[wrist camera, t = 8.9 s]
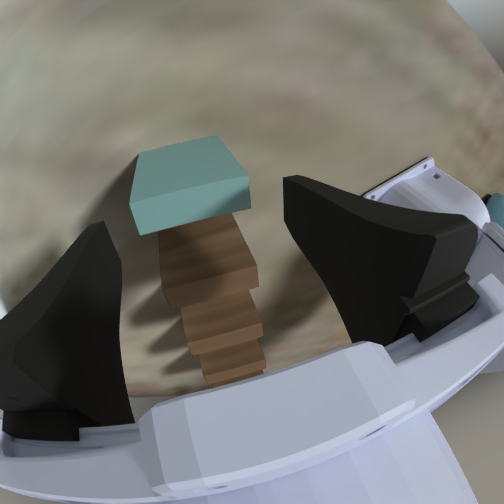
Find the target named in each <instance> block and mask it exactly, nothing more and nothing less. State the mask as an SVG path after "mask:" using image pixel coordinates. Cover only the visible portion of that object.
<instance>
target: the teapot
mask: <svg viewBox="0 0 504 504" xmlns="http://www.w3.org/2000/svg"><path fill="white" fill-rule="evenodd" d="M485 206H486V208H487V210H488V213H489V216H490V222H493V221H494V222H495V223H497V224H498V225H499V226H500V227H501V228H503V229H504V196H503V195H500V194H493V195H492V196H491V197H490V198H489V199H488V200H487V202H486V205H485Z"/></svg>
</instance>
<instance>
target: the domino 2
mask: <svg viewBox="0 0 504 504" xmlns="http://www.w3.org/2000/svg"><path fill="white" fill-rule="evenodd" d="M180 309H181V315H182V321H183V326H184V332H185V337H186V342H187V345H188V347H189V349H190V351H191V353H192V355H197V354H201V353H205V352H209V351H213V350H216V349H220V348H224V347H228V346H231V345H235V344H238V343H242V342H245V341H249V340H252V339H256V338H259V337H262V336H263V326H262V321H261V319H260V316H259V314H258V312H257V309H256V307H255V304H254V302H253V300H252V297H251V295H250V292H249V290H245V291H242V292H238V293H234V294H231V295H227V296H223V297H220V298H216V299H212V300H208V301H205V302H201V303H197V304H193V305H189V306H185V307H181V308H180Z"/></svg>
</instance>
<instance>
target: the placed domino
mask: <svg viewBox="0 0 504 504" xmlns="http://www.w3.org/2000/svg"><path fill="white" fill-rule="evenodd" d="M129 205H130V208H131V211H132V214H133V217H134V220H135V223H136V225H137V228H138V231H139V234H140V235H144V234H148V233H152V232H155V231H159V230H163V229H167V228H171V227H175V226H178V225H182V224H186V223H190V222H194V221H199V220H203V219H207V218H211V217H215V216H219V215H224V214H228V213H232V212H237V211H241V210H245V209H250V208H251V201H250V190H249V179H248V174H247V173H246V172H245V171H244V169H243V168H242V167H241V165H240V164H239V163H238V162H237V160H236V159H235V158H234V156H233V155H232V154H231V153H230V151H229V150H228V149H227V148H226V146H225V145H224V144H223V143H222V141H221V140H220V139H219V138H218V136H217V135H216V136H211V137H206V138H201V139H196V140H191V141H187V142H182V143H178V144H174V145H169V146H165V147H161V148H157V149H154V150H150V151H146V152H142V153H139V156H138V160H137V165H136V170H135V175H134V180H133V185H132V190H131V196H130V202H129Z"/></svg>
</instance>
